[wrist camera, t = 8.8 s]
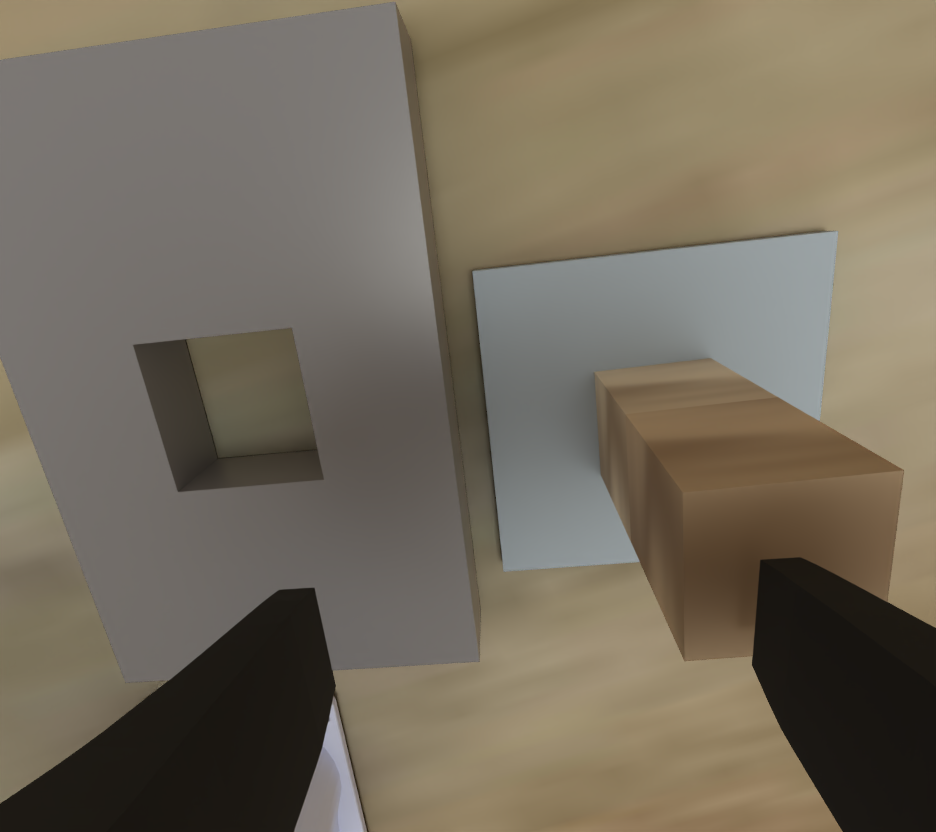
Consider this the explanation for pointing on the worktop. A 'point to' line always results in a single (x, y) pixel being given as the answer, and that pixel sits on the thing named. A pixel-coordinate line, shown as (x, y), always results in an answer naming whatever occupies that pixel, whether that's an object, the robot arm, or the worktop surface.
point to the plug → (735, 495)
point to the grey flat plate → (232, 312)
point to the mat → (629, 366)
